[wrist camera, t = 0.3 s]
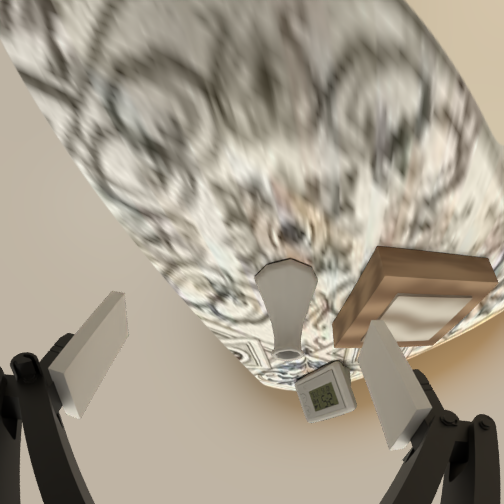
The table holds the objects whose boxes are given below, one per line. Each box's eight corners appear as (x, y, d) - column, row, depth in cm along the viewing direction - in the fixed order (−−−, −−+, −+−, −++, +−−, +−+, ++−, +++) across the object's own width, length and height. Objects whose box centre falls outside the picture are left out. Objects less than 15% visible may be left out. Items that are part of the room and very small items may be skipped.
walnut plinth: (377, 246, 32) (385, 279, 29) (488, 258, 33) (499, 285, 30) (332, 323, 46) (334, 350, 43) (427, 324, 47) (433, 347, 44)
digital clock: (338, 357, 57) (342, 408, 50) (365, 364, 61) (369, 411, 54) (284, 377, 67) (283, 421, 60) (311, 383, 71) (312, 424, 64)
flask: (281, 300, 41) (281, 371, 35) (243, 275, 37) (237, 353, 31) (327, 279, 37) (335, 356, 31) (292, 249, 33) (295, 335, 27)
